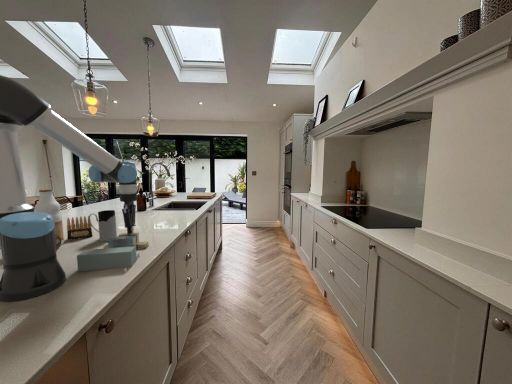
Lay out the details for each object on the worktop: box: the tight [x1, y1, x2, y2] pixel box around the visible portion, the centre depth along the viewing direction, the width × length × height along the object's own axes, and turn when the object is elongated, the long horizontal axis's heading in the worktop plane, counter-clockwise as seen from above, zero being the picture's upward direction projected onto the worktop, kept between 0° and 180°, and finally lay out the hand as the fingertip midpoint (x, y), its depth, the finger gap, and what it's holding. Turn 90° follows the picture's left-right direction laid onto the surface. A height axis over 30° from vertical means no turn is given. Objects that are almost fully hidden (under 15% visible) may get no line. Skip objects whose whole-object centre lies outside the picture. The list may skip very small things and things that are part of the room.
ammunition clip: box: [66, 215, 94, 241], centre depth 120 cm, size 11×2×12 cm, turn 122°
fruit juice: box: [34, 188, 65, 246], centre depth 107 cm, size 9×9×28 cm
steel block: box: [107, 236, 138, 251], centre depth 99 cm, size 4×10×7 cm, turn 102°
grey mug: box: [88, 209, 118, 242], centre depth 119 cm, size 9×14×15 cm, turn 89°
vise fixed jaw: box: [76, 246, 141, 272], centre depth 87 cm, size 10×18×6 cm, turn 102°
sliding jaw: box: [102, 232, 149, 250], centre depth 105 cm, size 7×18×6 cm, turn 102°
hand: (131, 239), depth 111 cm, fingers closed
